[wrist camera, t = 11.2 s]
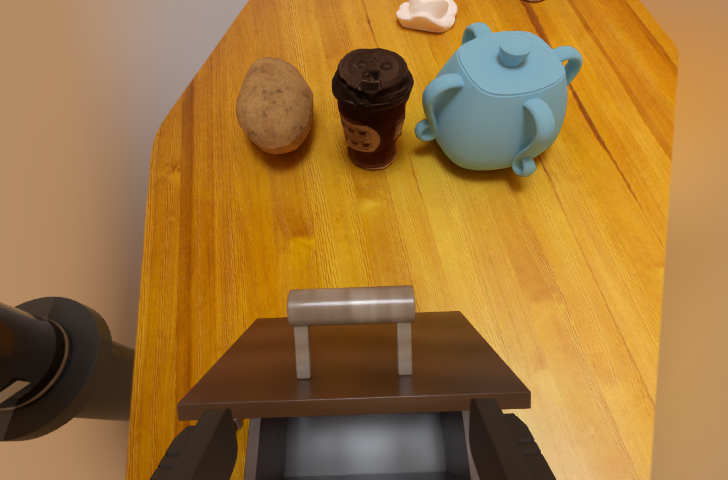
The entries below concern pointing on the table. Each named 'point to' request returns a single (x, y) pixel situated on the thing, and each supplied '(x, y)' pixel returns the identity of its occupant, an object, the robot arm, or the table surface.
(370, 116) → the coffee cup
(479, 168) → the decorative pot
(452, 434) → the wooden storage box
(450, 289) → the table surface
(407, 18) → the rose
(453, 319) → the lid
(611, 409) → the table surface
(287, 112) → the potato
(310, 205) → the table surface
